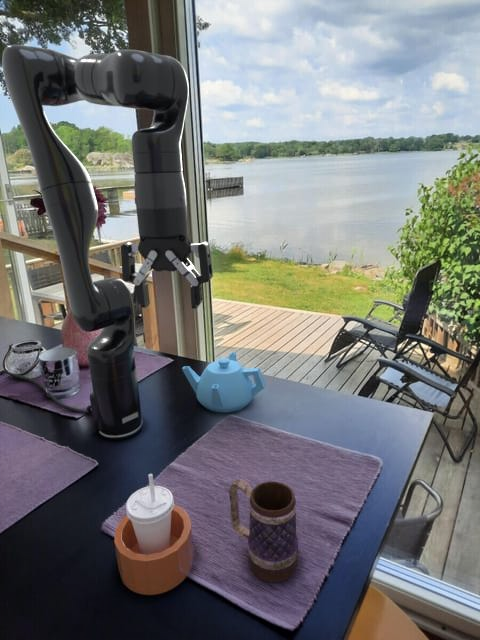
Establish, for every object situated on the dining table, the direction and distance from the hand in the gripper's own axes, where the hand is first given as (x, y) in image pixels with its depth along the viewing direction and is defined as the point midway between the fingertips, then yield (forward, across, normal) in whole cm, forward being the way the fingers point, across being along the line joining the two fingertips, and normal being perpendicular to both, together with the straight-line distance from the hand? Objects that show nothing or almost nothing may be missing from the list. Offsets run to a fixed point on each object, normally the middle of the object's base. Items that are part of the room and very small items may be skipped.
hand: (170, 306), depth 72 cm
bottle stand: (+32, -2, +20) cm, 38 cm away
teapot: (+32, -2, -27) cm, 42 cm away
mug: (+32, -17, +17) cm, 40 cm away
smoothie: (+31, -2, +20) cm, 37 cm away
